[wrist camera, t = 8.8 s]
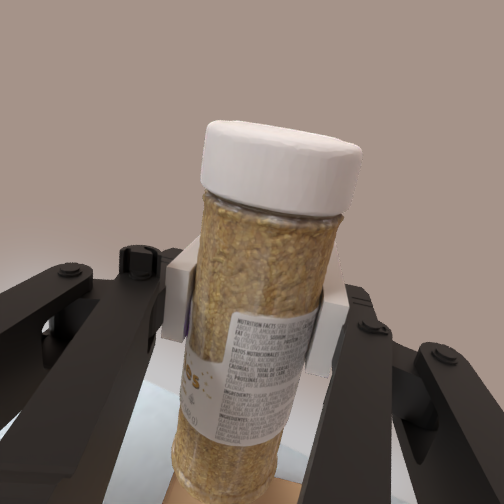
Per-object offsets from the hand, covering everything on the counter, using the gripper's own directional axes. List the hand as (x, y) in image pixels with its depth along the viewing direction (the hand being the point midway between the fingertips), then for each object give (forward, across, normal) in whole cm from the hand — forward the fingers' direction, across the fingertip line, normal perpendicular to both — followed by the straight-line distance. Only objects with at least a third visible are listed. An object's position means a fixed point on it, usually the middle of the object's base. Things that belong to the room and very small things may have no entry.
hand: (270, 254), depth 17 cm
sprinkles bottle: (-5, 0, -8) cm, 9 cm away
